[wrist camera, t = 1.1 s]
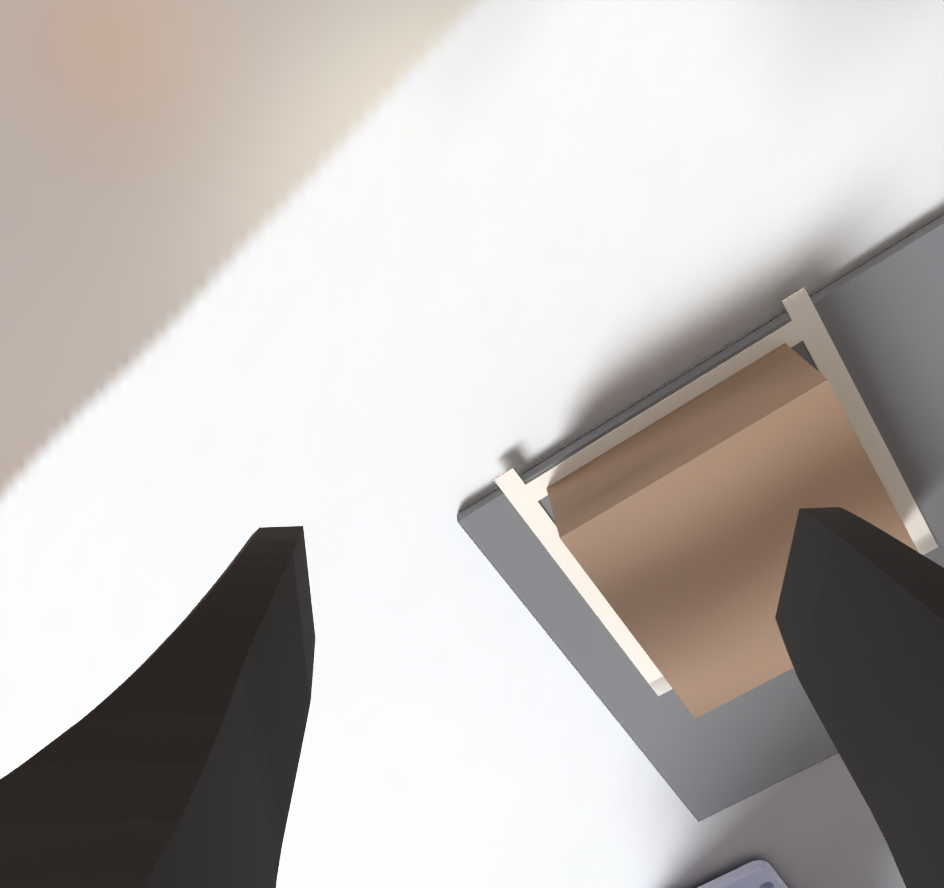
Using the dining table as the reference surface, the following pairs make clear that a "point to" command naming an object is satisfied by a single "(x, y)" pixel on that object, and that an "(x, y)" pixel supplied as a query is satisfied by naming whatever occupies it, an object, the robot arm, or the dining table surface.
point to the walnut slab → (717, 521)
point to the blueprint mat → (801, 327)
